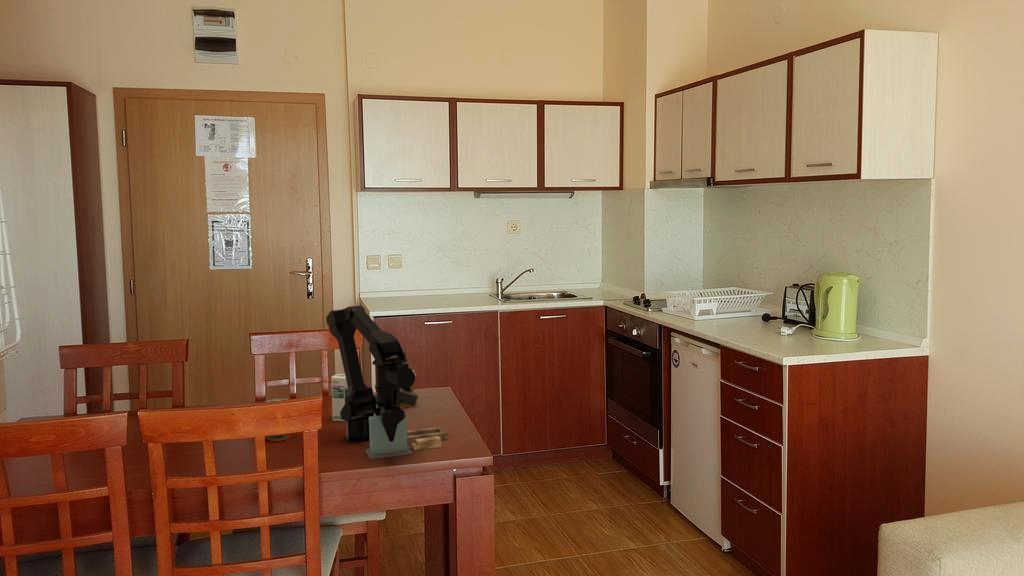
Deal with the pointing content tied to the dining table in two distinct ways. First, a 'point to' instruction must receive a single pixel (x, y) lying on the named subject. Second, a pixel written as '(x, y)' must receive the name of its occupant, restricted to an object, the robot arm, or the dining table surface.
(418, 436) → the rack
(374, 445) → the panel
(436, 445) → the offcut stack
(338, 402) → the syrup box
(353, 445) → the dining table surface
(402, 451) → the mat
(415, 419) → the dining table surface
